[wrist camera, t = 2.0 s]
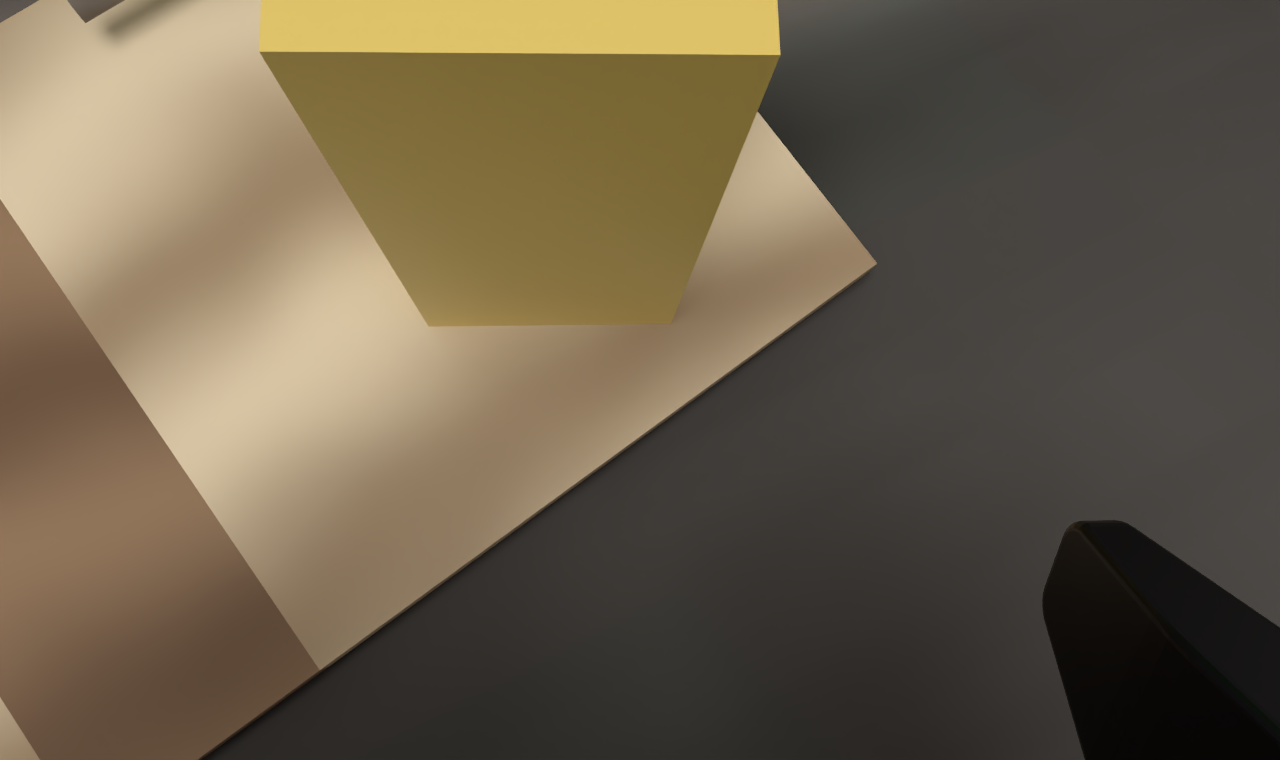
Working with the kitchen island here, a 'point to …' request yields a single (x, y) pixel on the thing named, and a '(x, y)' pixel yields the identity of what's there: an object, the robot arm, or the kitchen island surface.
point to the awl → (92, 7)
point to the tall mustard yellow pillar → (530, 142)
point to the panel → (278, 384)
